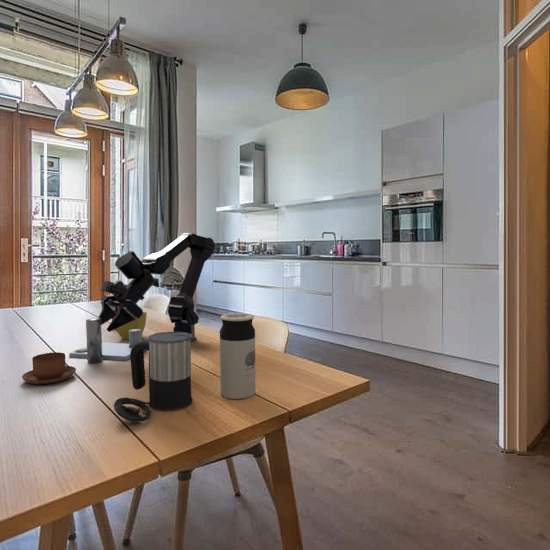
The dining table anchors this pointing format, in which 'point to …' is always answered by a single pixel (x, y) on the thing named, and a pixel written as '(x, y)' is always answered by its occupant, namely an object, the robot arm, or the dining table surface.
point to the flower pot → (132, 326)
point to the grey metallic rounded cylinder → (94, 340)
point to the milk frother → (160, 375)
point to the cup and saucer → (48, 369)
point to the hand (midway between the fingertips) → (101, 328)
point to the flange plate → (114, 348)
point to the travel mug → (237, 356)
